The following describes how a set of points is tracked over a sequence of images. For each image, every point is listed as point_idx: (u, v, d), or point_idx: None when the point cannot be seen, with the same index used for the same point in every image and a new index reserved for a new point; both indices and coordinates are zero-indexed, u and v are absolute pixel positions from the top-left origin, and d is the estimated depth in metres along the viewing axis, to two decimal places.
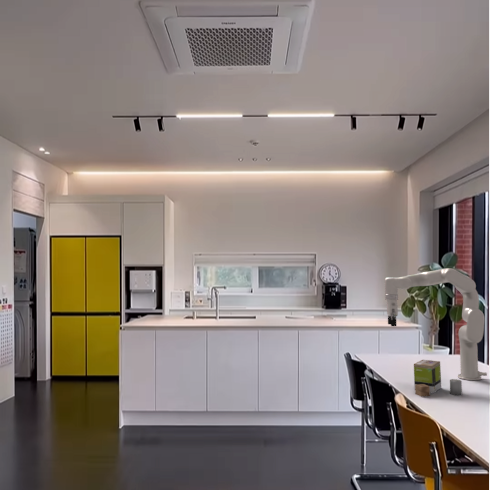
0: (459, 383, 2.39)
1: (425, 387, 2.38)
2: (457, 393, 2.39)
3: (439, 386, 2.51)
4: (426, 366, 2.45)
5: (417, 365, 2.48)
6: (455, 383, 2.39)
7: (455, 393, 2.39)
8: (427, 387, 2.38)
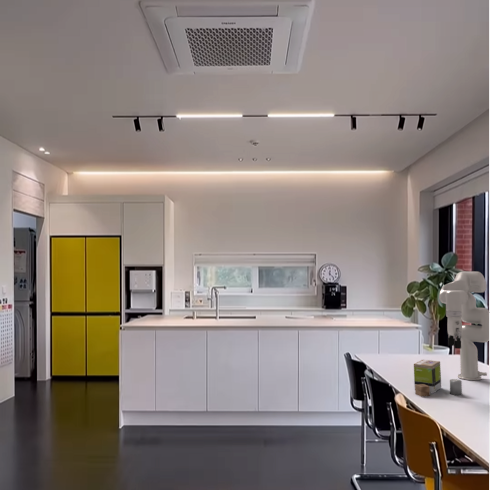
0: (459, 383, 2.39)
1: (425, 387, 2.38)
2: (457, 393, 2.39)
3: (439, 386, 2.51)
4: (426, 366, 2.45)
5: (417, 365, 2.48)
6: (455, 383, 2.39)
7: (455, 393, 2.39)
8: (427, 387, 2.38)
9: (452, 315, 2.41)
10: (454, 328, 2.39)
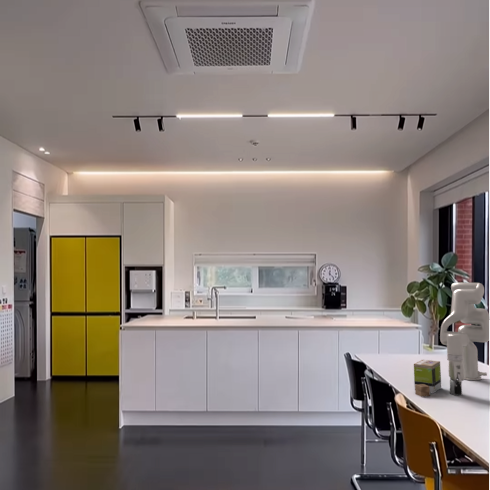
0: None
1: (425, 387, 2.38)
2: None
3: (439, 386, 2.51)
4: (426, 366, 2.45)
5: (417, 365, 2.48)
6: None
7: None
8: (427, 387, 2.38)
9: (453, 359, 2.39)
10: (455, 372, 2.37)
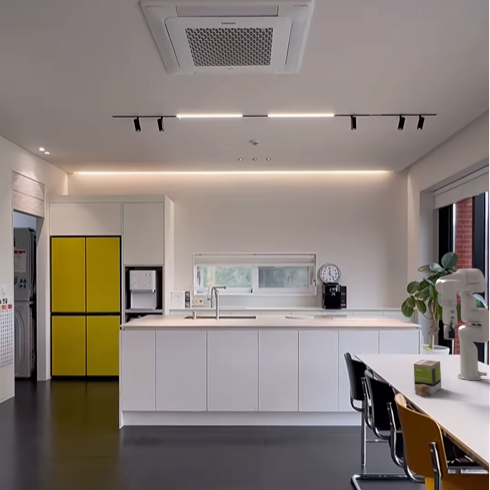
0: None
1: (425, 387, 2.38)
2: None
3: (439, 386, 2.51)
4: (426, 366, 2.45)
5: (417, 365, 2.48)
6: None
7: None
8: (427, 387, 2.38)
9: (447, 304, 2.43)
10: (449, 317, 2.41)
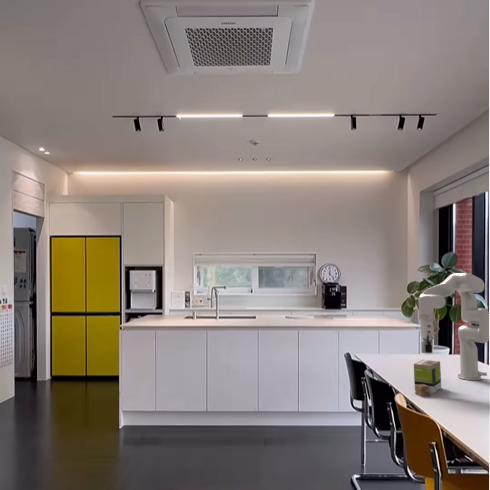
0: None
1: (425, 387, 2.38)
2: None
3: (439, 386, 2.51)
4: (426, 366, 2.45)
5: (417, 365, 2.48)
6: None
7: None
8: (427, 387, 2.38)
9: (424, 319, 2.50)
10: (426, 331, 2.48)
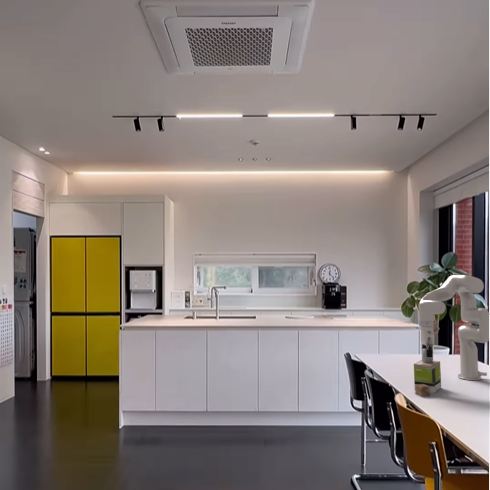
0: None
1: (425, 387, 2.38)
2: (428, 361, 2.49)
3: (439, 386, 2.51)
4: (426, 366, 2.45)
5: (417, 365, 2.48)
6: None
7: (426, 361, 2.49)
8: (427, 387, 2.38)
9: (424, 325, 2.50)
10: (426, 337, 2.48)
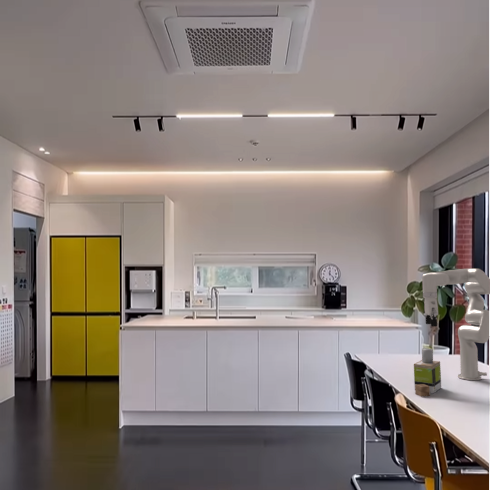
0: (430, 351, 2.49)
1: (425, 387, 2.38)
2: (428, 361, 2.49)
3: (439, 386, 2.51)
4: (426, 366, 2.45)
5: (417, 365, 2.48)
6: (426, 351, 2.50)
7: (426, 361, 2.49)
8: (427, 387, 2.38)
9: (428, 296, 2.60)
10: (430, 308, 2.58)
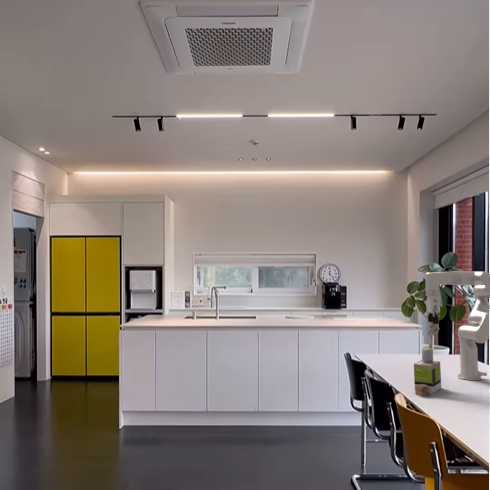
0: (430, 351, 2.49)
1: (425, 387, 2.38)
2: (428, 361, 2.49)
3: (439, 386, 2.51)
4: (426, 366, 2.45)
5: (417, 365, 2.48)
6: (426, 351, 2.50)
7: (426, 361, 2.49)
8: (427, 387, 2.38)
9: (431, 294, 2.66)
10: (432, 306, 2.64)
